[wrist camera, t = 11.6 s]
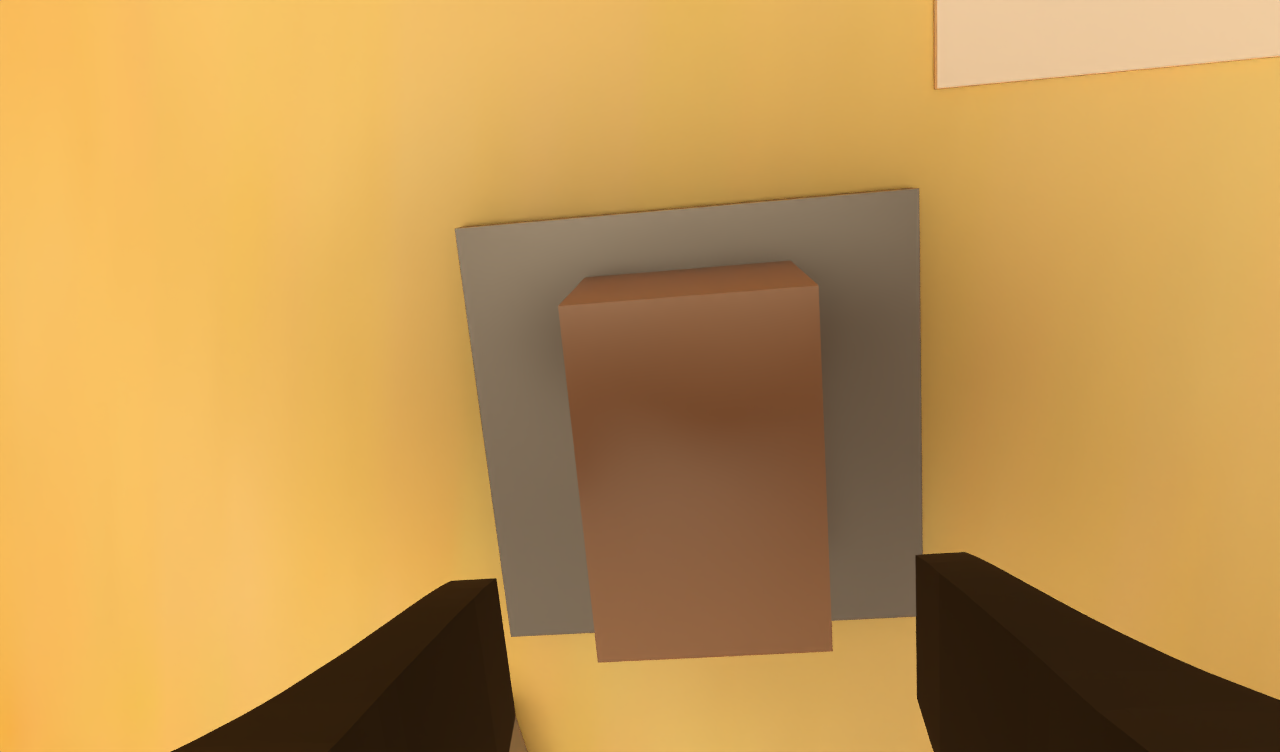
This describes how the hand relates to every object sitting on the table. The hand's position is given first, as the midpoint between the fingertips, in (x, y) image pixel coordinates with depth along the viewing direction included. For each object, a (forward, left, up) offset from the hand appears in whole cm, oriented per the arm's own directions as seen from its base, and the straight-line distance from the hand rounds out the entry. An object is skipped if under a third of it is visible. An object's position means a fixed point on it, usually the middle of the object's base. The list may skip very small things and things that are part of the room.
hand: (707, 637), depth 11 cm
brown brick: (0, 0, -9) cm, 9 cm away
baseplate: (0, 0, -9) cm, 9 cm away
